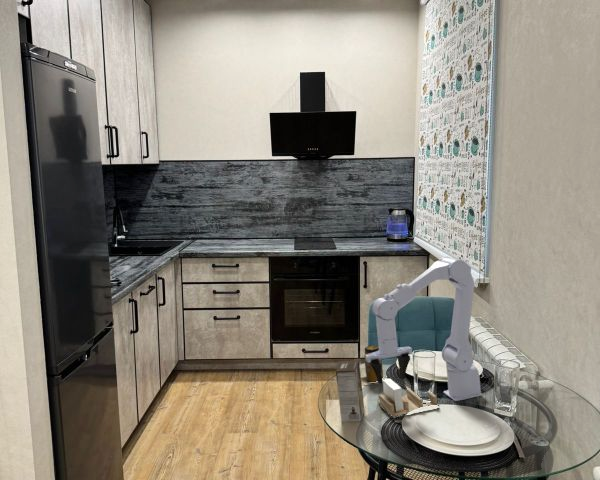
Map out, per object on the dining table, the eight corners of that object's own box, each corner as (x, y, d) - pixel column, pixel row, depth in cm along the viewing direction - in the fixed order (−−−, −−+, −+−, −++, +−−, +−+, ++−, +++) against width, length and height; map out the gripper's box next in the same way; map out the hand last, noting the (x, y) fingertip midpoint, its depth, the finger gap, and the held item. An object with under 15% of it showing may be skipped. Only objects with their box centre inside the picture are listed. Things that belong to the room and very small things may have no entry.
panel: (391, 399, 177) (389, 378, 177) (403, 410, 169) (401, 388, 168) (384, 401, 177) (382, 379, 176) (396, 412, 168) (393, 389, 167)
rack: (422, 394, 181) (421, 383, 181) (439, 408, 170) (438, 397, 169) (378, 403, 178) (377, 392, 178) (393, 418, 166) (391, 406, 166)
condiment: (387, 381, 196) (384, 348, 195) (364, 385, 194) (361, 352, 193) (380, 374, 203) (377, 342, 202) (358, 378, 201) (354, 346, 200)
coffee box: (344, 409, 177) (339, 360, 175) (364, 408, 176) (359, 359, 174) (340, 422, 168) (335, 371, 166) (362, 421, 167) (356, 370, 165)
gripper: (403, 330, 176) (407, 371, 177) (360, 338, 173) (364, 380, 174) (413, 335, 169) (417, 378, 170) (368, 344, 166) (372, 388, 167)
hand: (391, 380), depth 172 cm, fingers open, 7 cm apart
